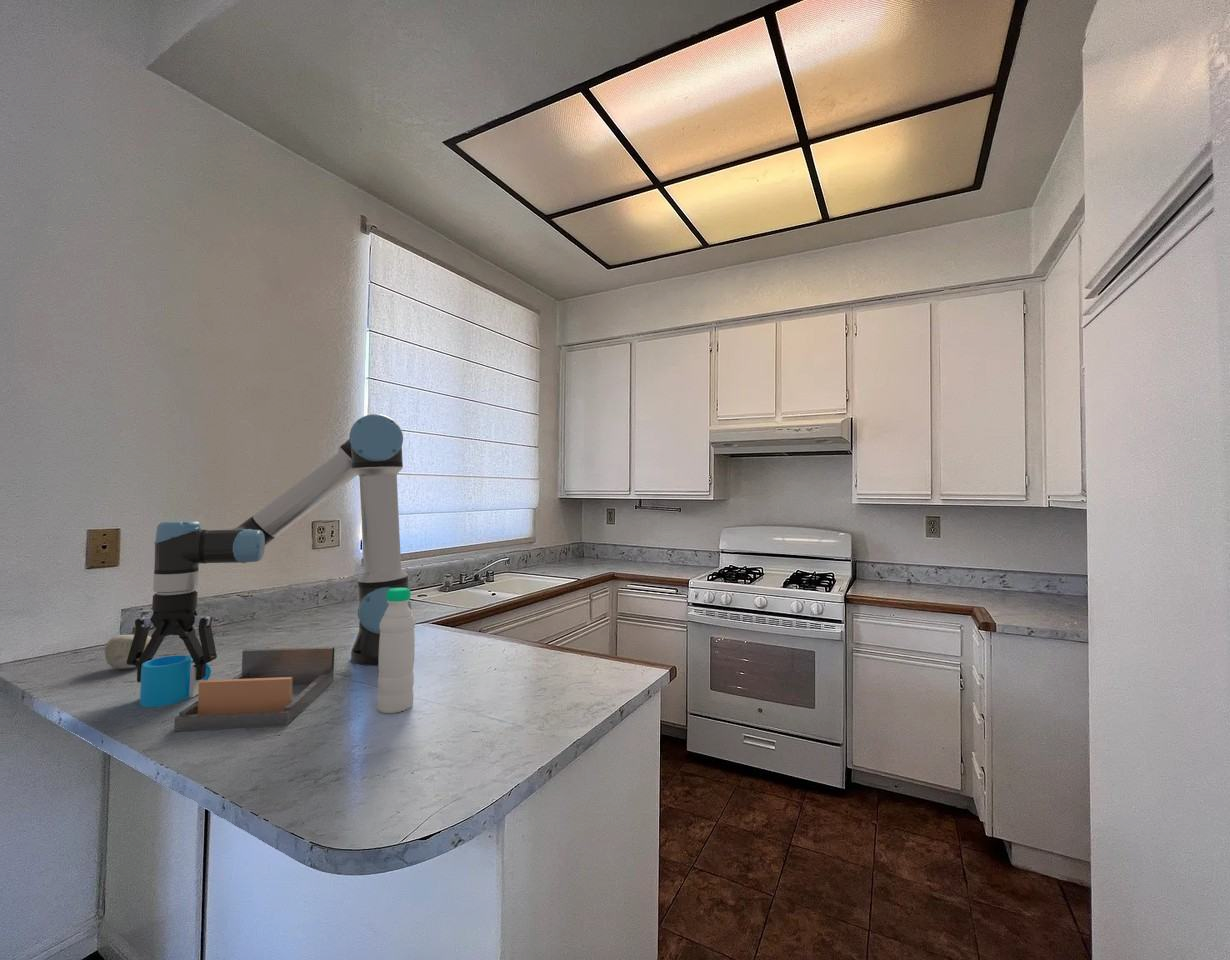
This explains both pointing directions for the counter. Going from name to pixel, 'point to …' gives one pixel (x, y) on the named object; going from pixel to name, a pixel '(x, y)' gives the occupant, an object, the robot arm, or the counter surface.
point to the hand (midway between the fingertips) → (171, 695)
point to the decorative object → (121, 650)
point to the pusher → (244, 695)
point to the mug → (166, 680)
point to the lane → (270, 664)
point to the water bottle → (396, 654)
